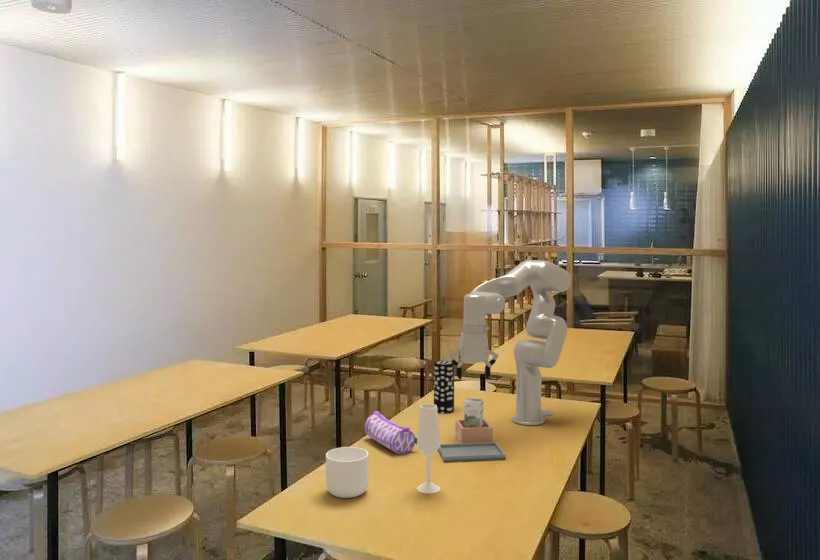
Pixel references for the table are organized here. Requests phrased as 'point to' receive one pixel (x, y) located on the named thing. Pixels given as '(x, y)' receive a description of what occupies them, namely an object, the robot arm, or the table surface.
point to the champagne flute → (428, 442)
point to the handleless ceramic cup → (347, 471)
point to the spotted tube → (444, 386)
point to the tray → (471, 452)
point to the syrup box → (473, 413)
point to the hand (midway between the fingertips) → (473, 378)
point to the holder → (473, 432)
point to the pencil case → (390, 433)
